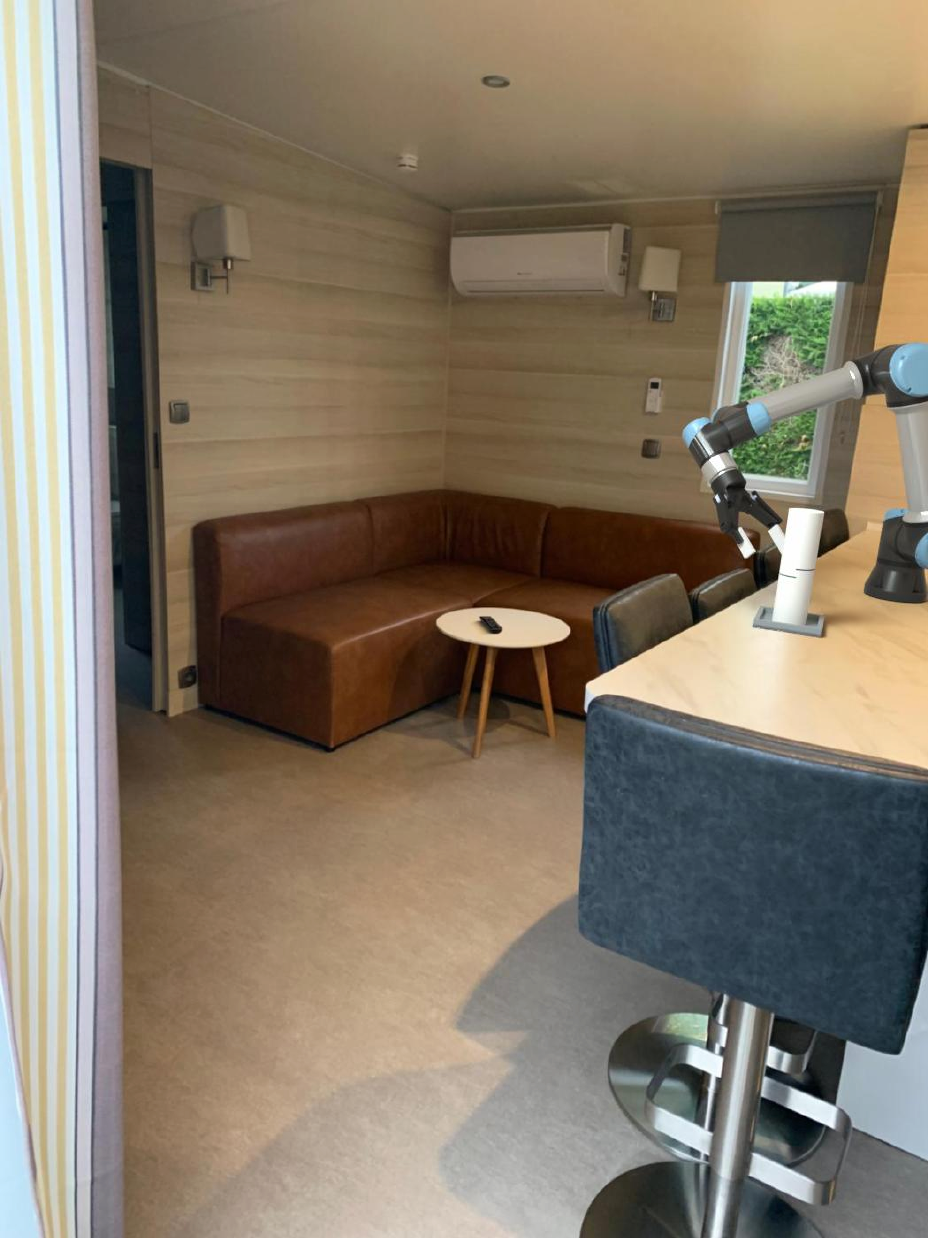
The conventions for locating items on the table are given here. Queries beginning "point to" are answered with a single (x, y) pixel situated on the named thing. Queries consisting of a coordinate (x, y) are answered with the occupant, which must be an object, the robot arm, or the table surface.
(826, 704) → the table surface
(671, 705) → the table surface
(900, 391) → the robot arm
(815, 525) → the cylindrical container
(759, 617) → the tray
